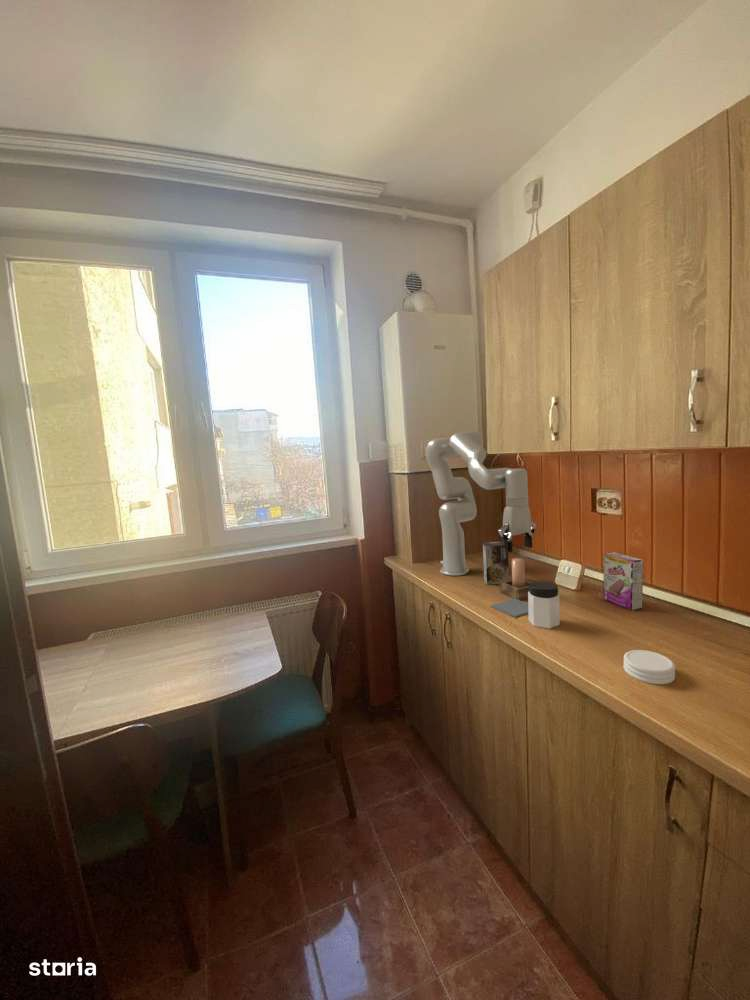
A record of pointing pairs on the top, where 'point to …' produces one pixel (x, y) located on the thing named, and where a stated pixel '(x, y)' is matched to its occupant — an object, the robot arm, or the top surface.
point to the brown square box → (514, 590)
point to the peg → (518, 573)
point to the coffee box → (495, 562)
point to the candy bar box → (623, 580)
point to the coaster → (649, 667)
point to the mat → (512, 607)
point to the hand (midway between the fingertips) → (518, 549)
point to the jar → (543, 604)
